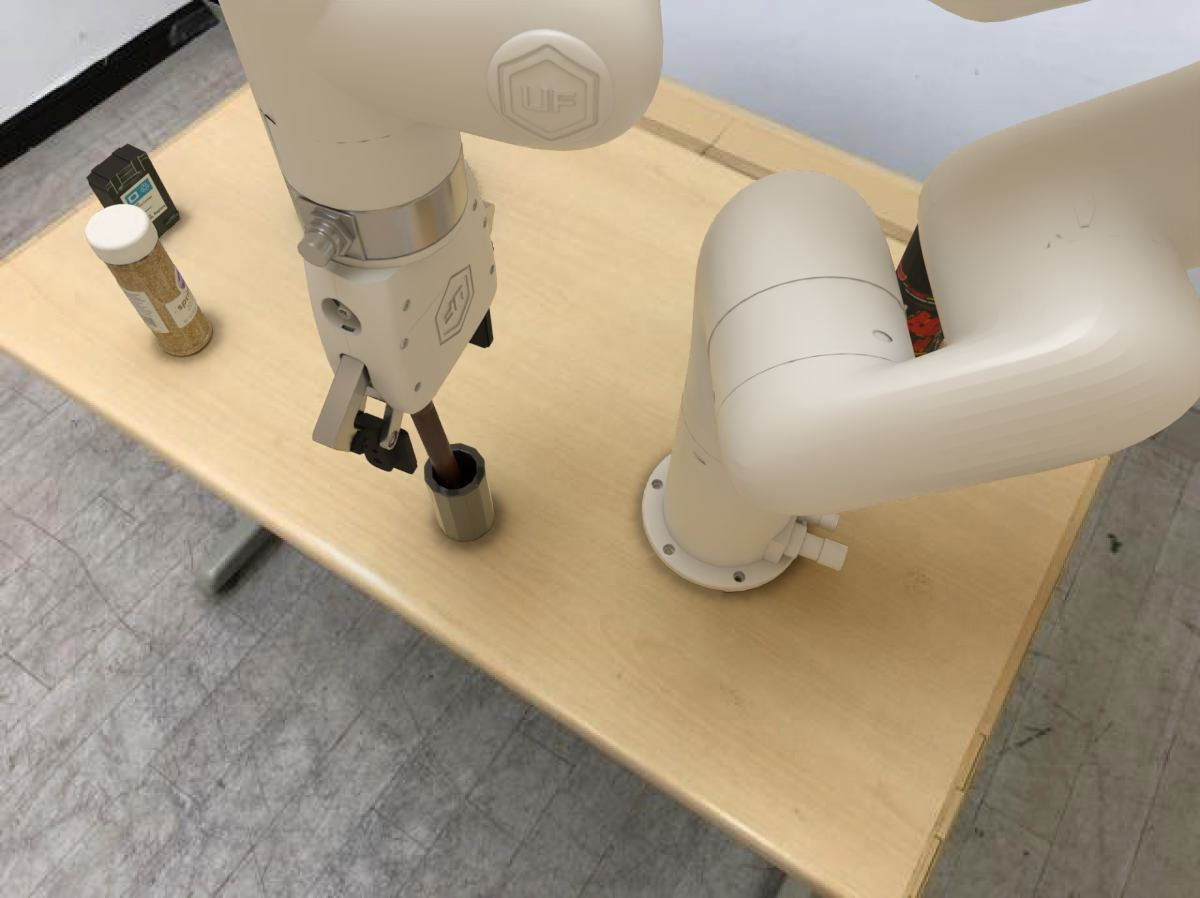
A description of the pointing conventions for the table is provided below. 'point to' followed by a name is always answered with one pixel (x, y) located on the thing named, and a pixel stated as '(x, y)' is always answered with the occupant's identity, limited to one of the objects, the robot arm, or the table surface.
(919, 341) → the deodorant
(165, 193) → the ink cartridge
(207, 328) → the sprinkles bottle
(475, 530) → the holder
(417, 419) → the stick
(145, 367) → the table surface
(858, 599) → the table surface
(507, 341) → the table surface
